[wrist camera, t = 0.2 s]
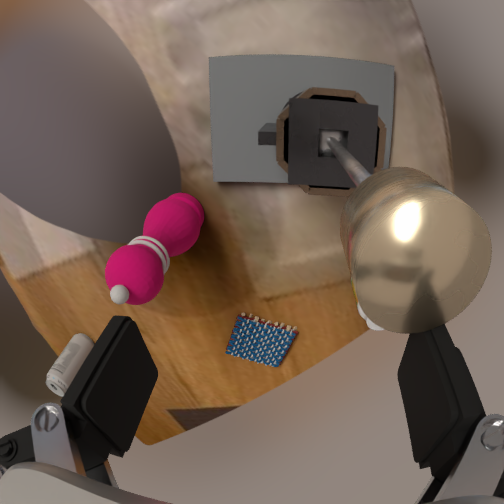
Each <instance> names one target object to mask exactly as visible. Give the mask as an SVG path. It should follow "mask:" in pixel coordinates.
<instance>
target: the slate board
mask: <svg viewBox="0 0 504 504" xmlns="http://www.w3.org/2000/svg"><path fill="white" fill-rule="evenodd" d="M209 85H210V116H211V140H212V162H213V180H214V182H274V183H288V174H287V173H286V172H285V171H284V170H283V169H282V168H281V167H280V166H279V165H278V164H277V161H276V145H258V131H259V130H260V129H261V128H262V127H263V126H264V125H265V124H266V123H276V119H277V117H278V115H279V114H280V112H281V111H282V110H283V108H284V106H285V105H286V103H287V102H288V101H289V98H293V97H294V96H295V95H297V94H299V93H301V92H303V91H304V90H306V89H308V88H311V87H317V88H331V89H342V90H352V91H356V92H358V93H359V94H360V95H361V96H362V97H363V98H364V99H365V101H366V102H367V103H368V104H371V105H378V106H379V107H378V116H379V117H380V119H381V120H382V121H383V122H384V123H385V125H386V126H385V127H387V131H386V144H385V155H384V165H383V168H381V170H384V169H388V166H389V157H390V146H391V134H392V120H393V100H394V66H392V65H387V64H381V63H375V62H368V61H361V60H353V59H344V58H334V57H322V56H306V55H235V56H219V57H209Z"/></svg>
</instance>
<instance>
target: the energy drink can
mask: <svg viewBox="0 0 504 504" xmlns="http://www.w3.org/2000/svg"><path fill="white" fill-rule="evenodd" d="M93 346H94V343H93V341H92V340H91V339H90V338H89V337H88V336H86V335H85V334H81V333H79V334H76V335H74V336H73V337H72V339H71V340H70V342H69V343H68V344H67V346H66V347H65V349H64V350H63V352H62V353H61V354H60V356H59V357H58V359H57V360H56V362H55V363H54V365H53V366H52V368H51V369H50V371H49V372H48V374H47V381H46V385H47V386H48V387H49V389H50V390H52V391H53V392H54V393H56V394H57V395H59V396H64V394H65V392H66V391H67V389H68V387H69V386H70V384H71V382H72V381H73V379H74V377H75V375H76V374H77V372H78V371H79V369H80V367H81V366H82V364H83V362H84V361H85V359H86V357H87V356H88V354H89V353H90V351H91V349H92V348H93Z"/></svg>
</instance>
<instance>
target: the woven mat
mask: <svg viewBox="0 0 504 504" xmlns="http://www.w3.org/2000/svg"><path fill="white" fill-rule="evenodd" d="M252 315H253V314H250V316H249V317H245V312H244V313H241V315H238V317H237V318H236V319H237V320H239V322H238V321H236V324H235V326H234V327H236V328H234V329H233V330H232V333H234V334H231V337H230V339H232V340H229V343H228V346H227V348H226V350H228V351H226V354H231V355H234V357H235V356H237V357H239V356H240V357H242V359H245V358H246V359H249V361H254V362H257V363H260V362H261V363H264V364H265V366H267V365H269V364H270V365H269V366H271V365H272V367H273V366H274V367H278V366H279V365H280V364H281V363H279V362H282V360H281V359H284V358H285V354H287V352H288V349H289V348H290V346H291V342H292V341H293V340H294V339H295V338H294V336H296V334H298V332H297V331H296V329H297V327H296V326H295V327H294V328H293V330H292V329H291V326H289V325H287V326H286V327H284V324H285V323H281V325H280V326H277V325H278V322H275V323H274V325H273V324H271V323H272V321H269V320H268V322H264V321H265V319H262V320H260V319H259V317H257V316H255V318H252ZM263 324H264V325H263ZM241 325H242V326H241ZM247 334H248V335H247ZM243 339H244V340H243ZM245 339H246V341H245ZM229 345H230V346H229ZM280 349H281V350H280ZM267 351H268V352H267ZM285 351H286V352H285ZM236 353H237V354H236ZM283 353H284V354H283ZM273 360H274V361H273ZM265 361H266V362H265ZM268 362H269V363H268ZM276 364H277V365H276Z"/></svg>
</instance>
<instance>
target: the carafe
mask: <svg viewBox="0 0 504 504" xmlns="http://www.w3.org/2000/svg"><path fill="white" fill-rule="evenodd" d="M378 107H379V106H378V105H371V104H368V103H367V102H366V101H365V99H364V98H363V97H362V96H361V95H360V94H359V93H358V92H356V91H352V90H342V89H331V88H317V87H311V88H308V89H306V90H304V91H303V92H301V93H299V94H297V95H295V96H294V97H293V98H289V101H288V102H287V103H286V105H285V106H284V108H283V110H282V111H281V112H280V114H279V115H278V117H277V119H276V123H266V124H265V125H264V126H263V127H262V128H261V129H260V130H259V131H258V145H276V161H277V164H278V165H279V166H280V167H281V168H282V169H283V170H284V171H285V172H286V173H287V174H288V184H297V185H299V186H300V187H301V188H302V189H303V190H304V191H305V192H306V193H307V192H308V194H314V195H331V196H346V197H349V194H350V195H351V193H352V192H353V191H354V190H355V188H356V187H357V186H356V185H355V184H354V182H353V181H352V179H351V178H350V176H349V175H348V173H347V172H346V170H345V169H344V168H343V166H342V165H341V163H340V162H339V160H338V159H337V158H336V157H324V156H318V145H319V129H332V130H344V131H347V145H346V150H348V151H349V152H350V154H351V155H352V156H353V157H354V158H355V159H356V160H357V161H358V162H359V163H360V164H361V165H362V166H363V167H364V168H365V169H366V170H367V171H368V172H369V173H370V174H371V175H373V174H374V173H376V172H379V171H381V168H383V165H384V155H385V144H386V131H387V127H385V126H386V125H385V123H384V122H383V121H382V120H381V119H380V117H379V116H378Z"/></svg>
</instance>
